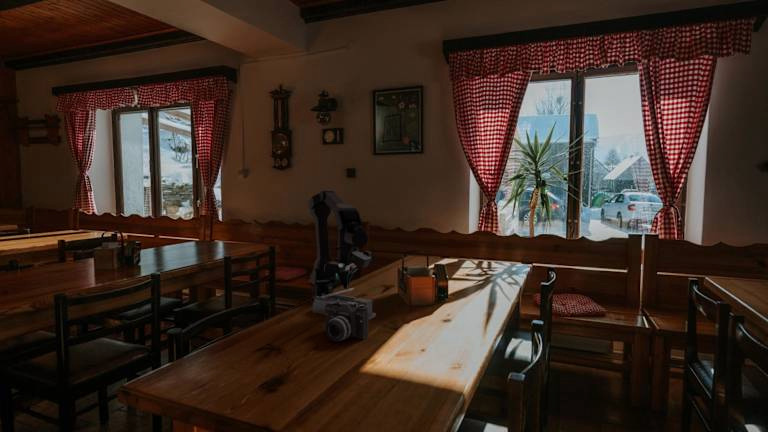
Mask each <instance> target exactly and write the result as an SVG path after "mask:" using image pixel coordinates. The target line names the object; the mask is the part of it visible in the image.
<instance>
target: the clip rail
mask: <svg viewBox="0 0 768 432" xmlns="http://www.w3.org/2000/svg"><path fill="white" fill-rule="evenodd" d="M376 316H377V313H376V312H372V313H371V314H369V315H368V321H369V320H372V319H373V318H375V317H376Z"/></svg>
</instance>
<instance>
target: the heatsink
mask: <svg viewBox="0 0 768 432" xmlns="http://www.w3.org/2000/svg"><path fill="white" fill-rule="evenodd" d="M332 293H333V292H332ZM332 293H330V294H332ZM324 295H326V293H322V296H324ZM313 296H314V295H313ZM355 299H357V297H356V296H350V295H345V294H344V295H343V294H336V295H332V296H329V297H325V298H322V299H319V297H318V296H314V299H313V300H314V301H313V302H312V313H313V314H318V315H319V314H320V315H325V305H326V304H327V303H328V302H330V301H335V302H337V300H339V302H340V303H341V302H344V303H347V302H351V303H354V302H353V300H355ZM356 305H357V307H358V306H359V303H356Z"/></svg>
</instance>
